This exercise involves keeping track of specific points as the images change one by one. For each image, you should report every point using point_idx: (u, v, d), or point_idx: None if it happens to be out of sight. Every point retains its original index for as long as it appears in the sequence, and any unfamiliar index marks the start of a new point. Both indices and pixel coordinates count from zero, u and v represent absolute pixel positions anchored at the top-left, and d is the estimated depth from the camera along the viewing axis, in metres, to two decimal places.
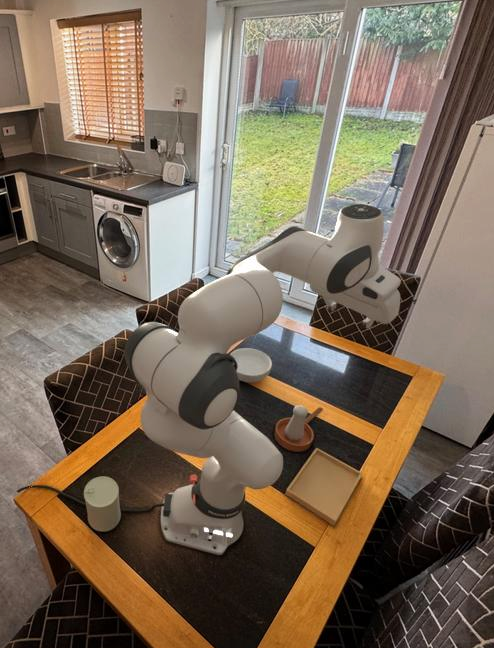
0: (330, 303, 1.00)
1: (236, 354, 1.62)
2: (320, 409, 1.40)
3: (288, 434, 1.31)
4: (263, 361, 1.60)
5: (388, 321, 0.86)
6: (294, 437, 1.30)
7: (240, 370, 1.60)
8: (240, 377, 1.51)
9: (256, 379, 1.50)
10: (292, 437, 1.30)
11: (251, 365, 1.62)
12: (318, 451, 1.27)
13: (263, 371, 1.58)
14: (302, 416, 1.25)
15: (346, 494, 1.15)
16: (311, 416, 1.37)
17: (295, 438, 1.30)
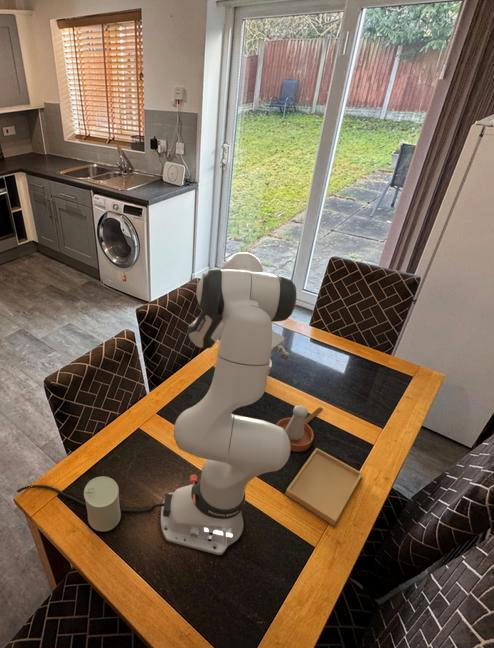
0: None
1: None
2: (320, 409, 1.40)
3: (288, 434, 1.31)
4: None
5: None
6: (294, 437, 1.30)
7: None
8: None
9: None
10: (292, 437, 1.30)
11: None
12: (318, 451, 1.27)
13: None
14: (302, 416, 1.25)
15: (346, 494, 1.15)
16: (311, 416, 1.37)
17: (295, 438, 1.30)
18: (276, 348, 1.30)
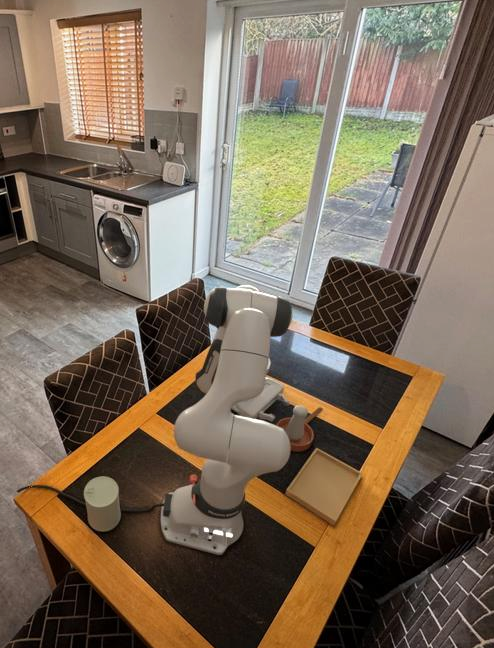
0: None
1: None
2: (320, 409, 1.40)
3: (288, 434, 1.31)
4: None
5: None
6: (294, 437, 1.30)
7: None
8: None
9: None
10: (292, 437, 1.30)
11: None
12: (318, 451, 1.27)
13: None
14: (302, 416, 1.25)
15: (346, 494, 1.15)
16: (311, 416, 1.37)
17: (295, 438, 1.30)
18: (277, 396, 1.38)
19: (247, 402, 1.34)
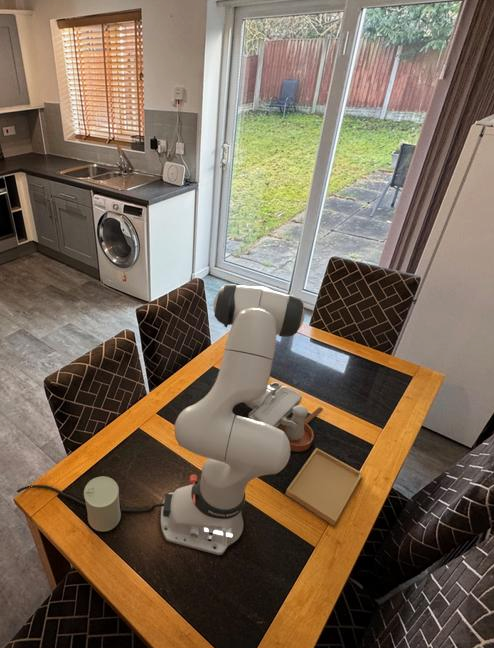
0: None
1: None
2: (320, 409, 1.40)
3: (288, 434, 1.31)
4: None
5: None
6: (294, 437, 1.30)
7: None
8: None
9: None
10: (292, 437, 1.30)
11: None
12: (318, 451, 1.27)
13: None
14: (302, 416, 1.25)
15: (346, 494, 1.15)
16: (311, 416, 1.37)
17: (295, 438, 1.30)
18: (291, 410, 1.33)
19: (265, 412, 1.30)
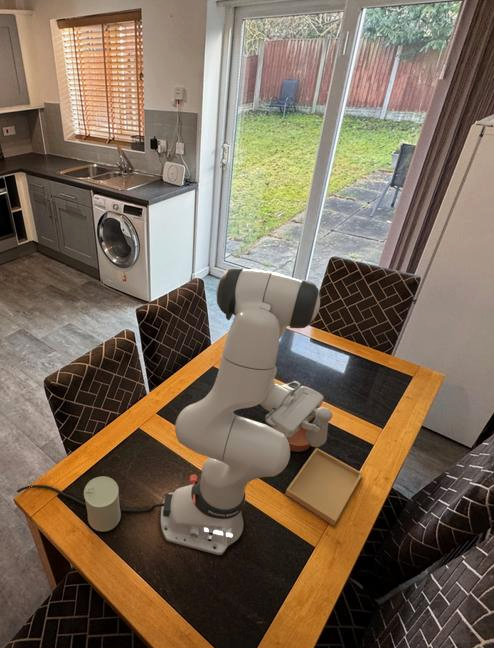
0: None
1: None
2: None
3: (309, 439, 1.18)
4: None
5: None
6: (316, 442, 1.17)
7: None
8: None
9: None
10: (314, 442, 1.17)
11: None
12: (318, 451, 1.27)
13: None
14: (326, 419, 1.12)
15: (346, 494, 1.15)
16: (311, 416, 1.37)
17: (317, 443, 1.17)
18: (312, 412, 1.20)
19: (284, 415, 1.17)
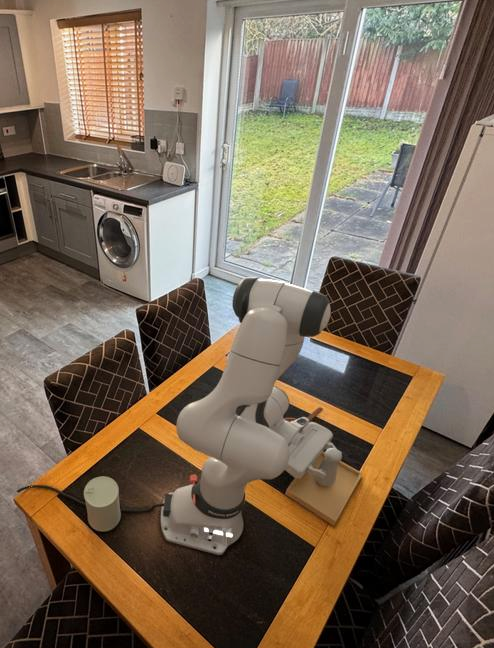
0: None
1: None
2: (320, 409, 1.40)
3: (318, 479, 1.16)
4: None
5: None
6: (326, 482, 1.15)
7: None
8: None
9: None
10: (323, 483, 1.16)
11: None
12: None
13: None
14: (336, 461, 1.10)
15: (346, 494, 1.15)
16: (311, 416, 1.37)
17: (326, 484, 1.15)
18: (325, 446, 1.19)
19: (293, 454, 1.15)
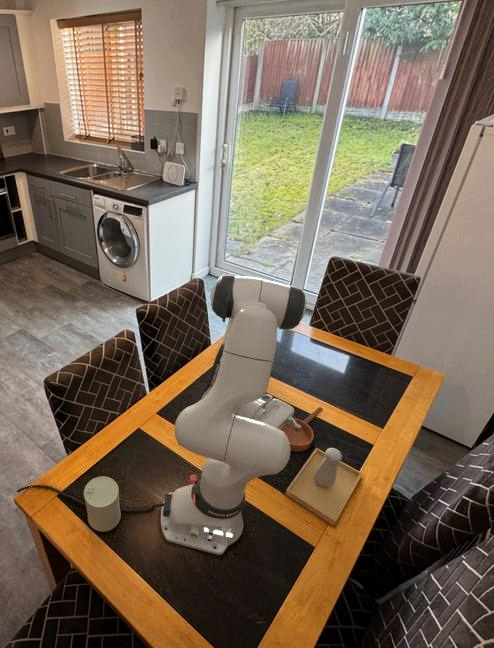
0: None
1: None
2: (320, 409, 1.40)
3: (318, 479, 1.16)
4: None
5: None
6: (326, 482, 1.15)
7: None
8: None
9: None
10: (323, 483, 1.16)
11: None
12: (318, 451, 1.27)
13: None
14: (336, 461, 1.10)
15: (346, 494, 1.15)
16: (311, 416, 1.37)
17: (326, 484, 1.15)
18: (286, 420, 1.26)
19: None
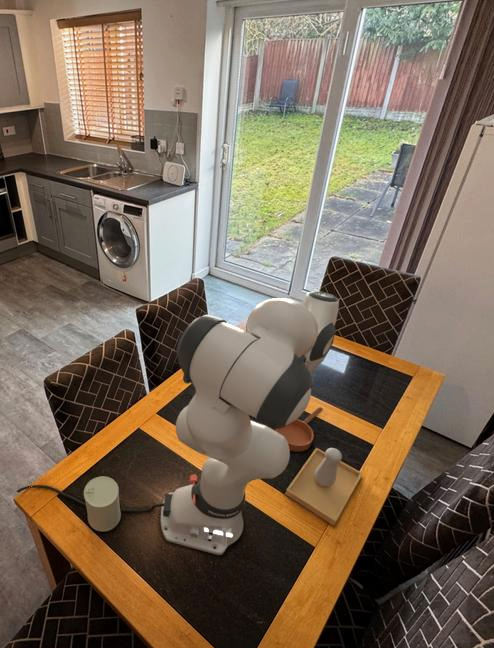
0: None
1: None
2: (320, 409, 1.40)
3: (318, 479, 1.16)
4: None
5: None
6: (326, 482, 1.15)
7: None
8: None
9: None
10: (323, 483, 1.16)
11: None
12: (318, 451, 1.27)
13: None
14: (336, 461, 1.10)
15: (346, 494, 1.15)
16: (311, 416, 1.37)
17: (326, 484, 1.15)
18: None
19: None
